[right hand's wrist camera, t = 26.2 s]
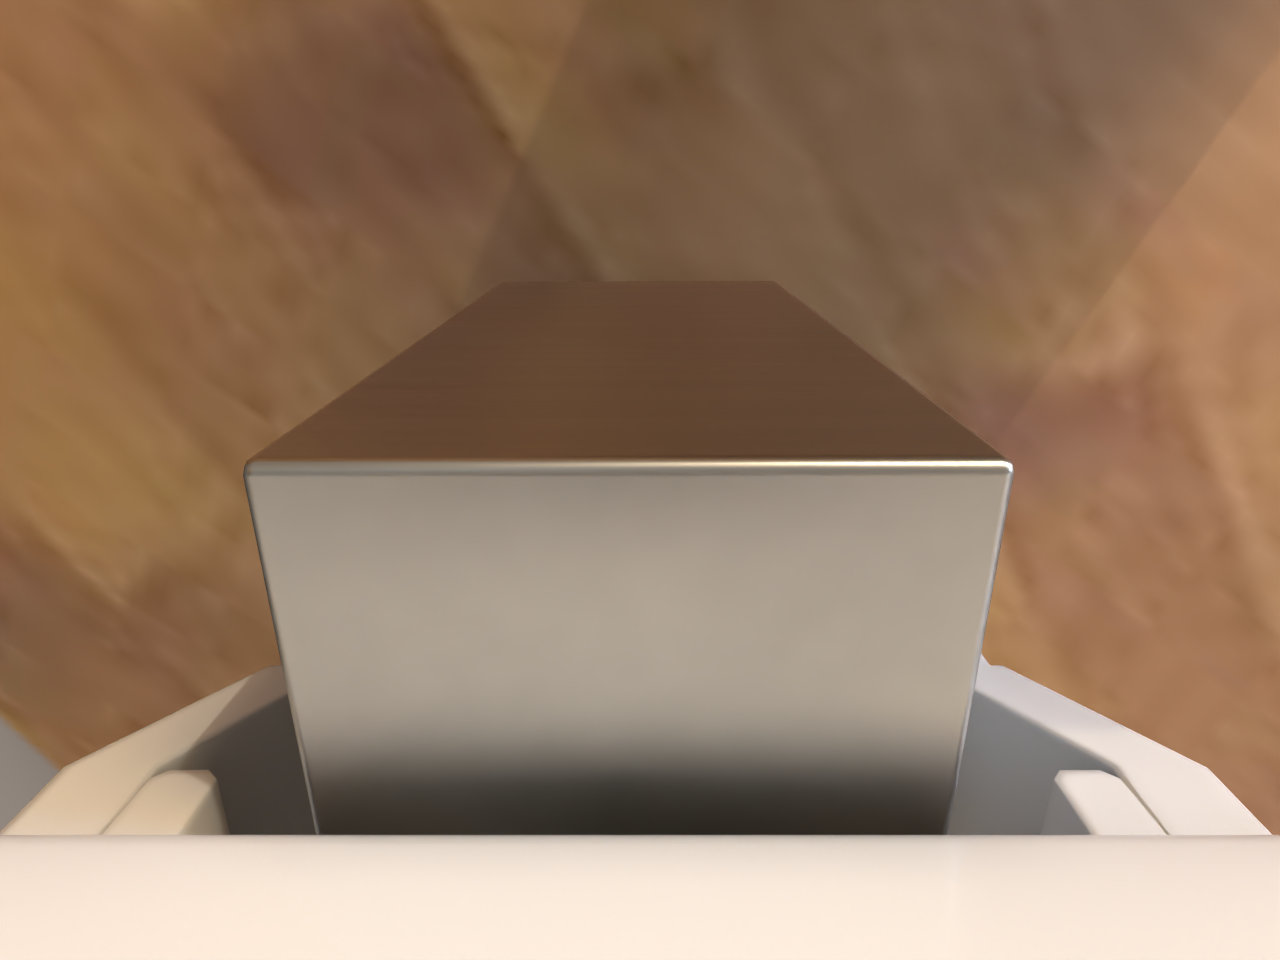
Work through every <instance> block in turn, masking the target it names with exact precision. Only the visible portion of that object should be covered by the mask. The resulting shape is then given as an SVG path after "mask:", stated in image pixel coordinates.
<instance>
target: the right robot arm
mask: <svg viewBox="0 0 1280 960" xmlns="http://www.w3.org/2000/svg"><path fill="white" fill-rule="evenodd" d="M948 834H949V835H316V831H315V826H314V821H313V816H312V811H311V806H310V802H309V797H308V792H307V787H306V782H305V777H304V772H303V767H302V762H301V757H300V752H299V747H298V743H297V738H296V733H295V728H294V723H293V718H292V713H291V708H290V703H289V698H288V693H287V688H286V683H285V679H284V674H283V669H282V666H268V667H266V668H264V669H262V670H260V671H258V672H256V673H254V674H252V675H250V676H248V677H246V678H244V679H242V680H240V681H237V682H235V683H233V684H231V685H229V686H227V687H225V688H223V689H221V690H219V691H217V692H215V693H213V694H211V695H209V696H207V697H205V698H203V699H201V700H199V701H197V702H195V703H193V704H191V705H189V706H187V707H185V708H183V709H181V710H179V711H177V712H175V713H172V714H170V715H168V716H166V717H164V718H162V719H160V720H158V721H156V722H154V723H152V724H150V725H148V726H146V727H144V728H142V729H140V730H138V731H136V732H134V733H132V734H130V735H128V736H126V737H124V738H122V739H120V740H118V741H116V742H114V743H112V744H110V745H107V746H105V747H103V748H101V749H99V750H97V751H95V752H93V753H91V754H89V755H87V756H85V757H83V758H81V759H79V760H77V761H75V762H73V763H71V764H69V765H67V766H65V767H63V768H62V769H61V770H60V771H59V772H58V773H57V775H56V776H55V777H54V778H53V779H52V780H51V781H50V782H49V783H48V784H47V785H46V786H45V787H44V788H43V789H42V790H41V791H40V792H39V793H38V794H37V795H36V796H35V797H34V798H33V799H32V800H31V801H30V802H29V803H28V804H27V805H26V806H25V807H24V808H23V809H22V810H21V811H20V812H19V813H18V814H17V815H16V816H15V817H14V818H13V819H12V820H11V821H10V822H9V823H8V824H7V825H6V826H5V827H4V828H3V829H2V830H1V831H0V960H1280V835H1272V834H1271V833H1270V832H1269V831H1268V830H1267V829H1266V828H1265V827H1264V826H1263V825H1262V824H1261V823H1260V822H1259V821H1258V820H1257V819H1256V818H1255V817H1254V815H1253V814H1252V813H1251V812H1250V811H1249V810H1248V809H1247V808H1246V807H1245V806H1244V805H1243V804H1242V803H1241V802H1240V801H1239V800H1238V799H1237V798H1236V797H1235V796H1234V795H1233V794H1232V793H1231V792H1230V791H1229V790H1228V789H1227V788H1226V787H1225V786H1224V784H1223V783H1222V782H1221V781H1220V780H1219V779H1218V778H1217V777H1216V776H1215V775H1214V774H1213V773H1212V772H1211V771H1210V770H1209V769H1208V768H1207V767H1205V766H1203V765H1201V764H1199V763H1196V762H1194V761H1192V760H1190V759H1188V758H1186V757H1184V756H1182V755H1180V754H1178V753H1176V752H1174V751H1172V750H1170V749H1168V748H1166V747H1164V746H1162V745H1160V744H1158V743H1156V742H1154V741H1152V740H1150V739H1148V738H1146V737H1144V736H1142V735H1140V734H1138V733H1136V732H1134V731H1132V730H1130V729H1128V728H1126V727H1124V726H1122V725H1120V724H1118V723H1116V722H1114V721H1112V720H1110V719H1108V718H1106V717H1104V716H1102V715H1100V714H1098V713H1096V712H1094V711H1092V710H1090V709H1088V708H1086V707H1084V706H1082V705H1080V704H1078V703H1076V702H1074V701H1072V700H1070V699H1068V698H1066V697H1064V696H1062V695H1060V694H1058V693H1056V692H1054V691H1052V690H1050V689H1048V688H1046V687H1044V686H1042V685H1040V684H1038V683H1036V682H1034V681H1032V680H1030V679H1028V678H1026V677H1024V676H1022V675H1020V674H1018V673H1016V672H1014V671H1012V670H1010V669H1008V668H1006V667H1004V666H990V665H989V664H988V662H987V661H986V659H985V658H984V657H983V655H982V654H981V656H980V661H979V667H978V672H977V678H976V683H975V689H974V694H973V700H972V705H971V710H970V716H969V721H968V727H967V732H966V738H965V743H964V749H963V754H962V759H961V765H960V770H959V776H958V781H957V787H956V792H955V797H954V803H953V808H952V814H951V819H950V825H949V830H948Z"/></svg>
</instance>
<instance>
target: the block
mask: <svg viewBox="0 0 1280 960" xmlns="http://www.w3.org/2000/svg"><path fill="white" fill-rule="evenodd" d="M1013 476H1014V470H1013V465H1012V462H1011V459H1009V458H1008V457H1007V456H1005V455H1004V454H1003V453H1001V452H1000V451H999V450H997V449H996V448H995V447H993V446H992V445H991V444H989V443H988V442H987V441H985V440H984V439H983V438H981V437H980V436H979V435H977V434H976V433H975V432H973V431H972V430H971V429H969V428H968V427H967V426H965V425H964V424H963V423H962V422H960V421H959V420H958V419H956V418H955V417H954V416H952V415H951V414H950V413H948V412H947V411H946V410H944V409H943V408H942V407H940V406H939V405H938V404H936V403H935V402H934V401H932V400H931V399H930V398H928V397H927V396H926V395H924V394H923V393H922V392H920V391H919V390H918V389H916V388H915V387H914V386H913V385H911V384H910V383H909V382H907V381H906V380H905V379H903V378H902V377H901V376H899V375H898V374H897V373H895V372H894V371H893V370H891V369H890V368H889V367H887V366H886V365H885V364H883V363H882V362H881V361H879V360H878V359H877V358H875V357H874V356H873V355H871V354H870V353H869V352H867V351H866V350H865V349H863V348H862V347H861V346H860V345H858V344H857V343H856V342H854V341H853V340H852V339H850V338H849V337H848V336H846V335H845V334H844V333H842V332H841V331H840V330H838V329H837V328H836V327H834V326H833V325H832V324H830V323H829V322H828V321H826V320H825V319H824V318H822V317H821V316H820V315H818V314H817V313H816V312H814V311H813V310H812V309H811V308H809V307H808V306H807V305H805V304H804V303H803V302H801V301H800V300H799V299H797V298H796V297H795V296H793V295H792V294H791V293H789V292H788V291H787V290H785V289H784V288H783V287H781V286H780V285H779V284H777V283H776V282H773V281H716V282H503V283H501V284H499V285H498V286H496V287H495V288H493V289H492V290H491V291H489V292H488V293H486V294H485V295H483V296H482V297H481V298H479V299H478V300H476V301H475V302H473V303H472V304H471V305H469V306H468V307H466V308H465V309H463V310H462V311H461V312H459V313H458V314H456V315H455V316H453V317H452V318H451V319H449V320H448V321H446V322H445V323H443V324H442V325H441V326H439V327H438V328H436V329H435V330H433V331H432V332H430V333H429V334H428V335H426V336H425V337H423V338H422V339H420V340H419V341H418V342H416V343H415V344H413V345H412V346H410V347H409V348H408V349H406V350H405V351H403V352H402V353H400V354H399V355H398V356H396V357H395V358H393V359H392V360H390V361H389V362H388V363H386V364H385V365H383V366H382V367H380V368H379V369H378V370H376V371H375V372H373V373H372V374H370V375H369V376H367V377H366V378H365V379H363V380H362V381H360V382H359V383H357V384H356V385H355V386H353V387H352V388H350V389H349V390H347V391H346V392H345V393H343V394H342V395H340V396H339V397H337V398H336V399H335V400H333V401H332V402H330V403H329V404H327V405H326V406H325V407H323V408H322V409H320V410H319V411H317V412H316V413H315V414H313V415H312V416H310V417H309V418H307V419H306V420H305V421H303V422H302V423H300V424H299V425H297V426H296V427H294V428H293V429H292V430H290V431H289V432H287V433H286V434H284V435H283V436H282V437H280V438H279V439H277V440H276V441H274V442H273V443H272V444H270V445H269V446H267V447H266V448H264V449H263V450H262V451H260V452H259V453H257V454H256V455H254V456H253V457H252V458H250V459H249V460H247V461H246V464H245V467H244V474H243V477H244V482H245V487H246V492H247V497H248V502H249V506H250V511H251V516H252V521H253V526H254V531H255V536H256V541H257V546H258V551H259V556H260V561H261V565H262V570H263V575H264V580H265V585H266V590H267V595H268V600H269V605H270V610H271V615H272V620H273V624H274V629H275V634H276V639H277V644H278V649H279V654H280V659H281V664H282V669H283V674H284V679H285V683H286V688H287V693H288V698H289V703H290V708H291V713H292V718H293V723H294V728H295V733H296V738H297V743H298V747H299V752H300V757H301V762H302V767H303V772H304V777H305V782H306V787H307V792H308V797H309V802H310V806H311V811H312V816H313V821H314V826H315V831H316V835H948V830H949V825H950V819H951V814H952V808H953V803H954V797H955V792H956V787H957V781H958V776H959V770H960V765H961V759H962V754H963V749H964V743H965V738H966V732H967V727H968V721H969V716H970V710H971V705H972V700H973V694H974V689H975V683H976V678H977V672H978V667H979V661H980V656H981V651H982V645H983V640H984V634H985V629H986V623H987V618H988V612H989V607H990V602H991V596H992V591H993V585H994V580H995V574H996V569H997V563H998V558H999V553H1000V547H1001V542H1002V536H1003V531H1004V525H1005V520H1006V514H1007V509H1008V504H1009V498H1010V493H1011V487H1012V482H1013Z"/></svg>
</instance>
